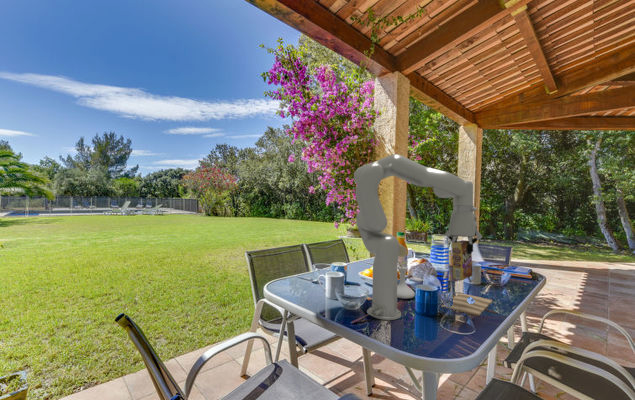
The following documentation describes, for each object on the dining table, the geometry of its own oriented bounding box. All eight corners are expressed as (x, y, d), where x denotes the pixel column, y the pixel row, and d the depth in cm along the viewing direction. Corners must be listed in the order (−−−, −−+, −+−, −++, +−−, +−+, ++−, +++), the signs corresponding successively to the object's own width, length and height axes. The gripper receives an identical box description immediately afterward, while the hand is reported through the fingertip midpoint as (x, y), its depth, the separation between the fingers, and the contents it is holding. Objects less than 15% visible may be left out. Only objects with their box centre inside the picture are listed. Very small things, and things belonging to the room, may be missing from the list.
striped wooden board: (478, 316, 108) (478, 314, 108) (441, 307, 118) (441, 305, 118) (493, 301, 127) (493, 299, 127) (460, 294, 137) (460, 293, 137)
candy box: (463, 280, 112) (460, 243, 113) (453, 278, 116) (450, 242, 116) (473, 276, 118) (471, 240, 118) (463, 274, 121) (461, 239, 121)
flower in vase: (420, 298, 129) (420, 244, 130) (404, 302, 123) (405, 246, 124) (397, 291, 140) (398, 241, 141) (382, 294, 134) (382, 243, 134)
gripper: (487, 210, 115) (487, 254, 114) (445, 209, 126) (445, 249, 126) (483, 210, 109) (483, 256, 109) (439, 209, 121) (439, 251, 120)
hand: (462, 252), depth 117 cm, fingers closed on candy box, 4 cm apart
